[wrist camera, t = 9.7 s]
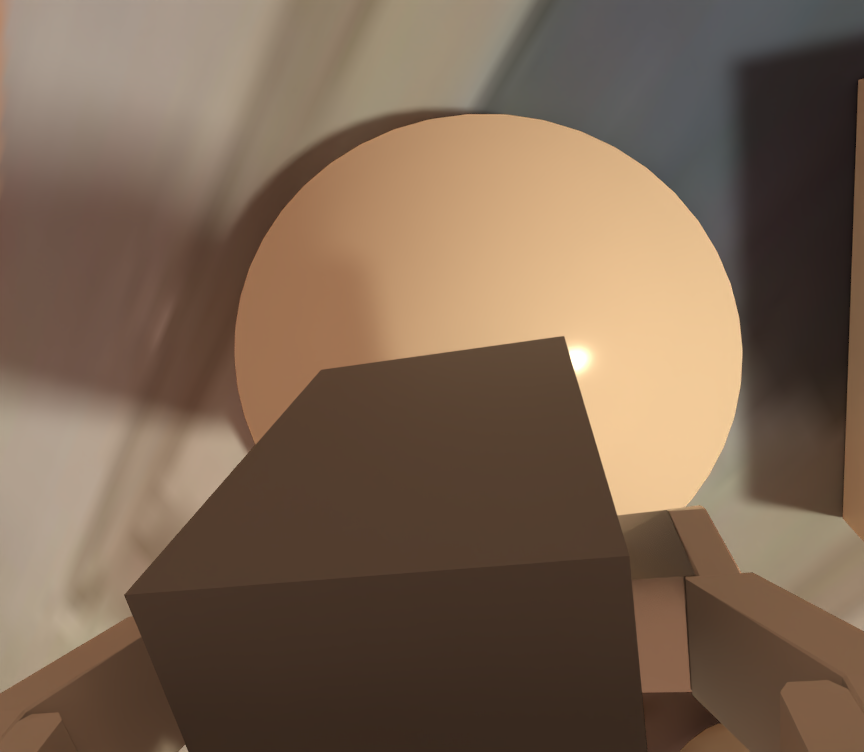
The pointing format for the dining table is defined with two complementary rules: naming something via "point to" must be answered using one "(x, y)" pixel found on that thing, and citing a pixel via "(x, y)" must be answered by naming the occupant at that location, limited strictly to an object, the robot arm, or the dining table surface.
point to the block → (407, 572)
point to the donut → (715, 741)
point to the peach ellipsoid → (506, 286)
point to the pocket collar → (856, 348)
